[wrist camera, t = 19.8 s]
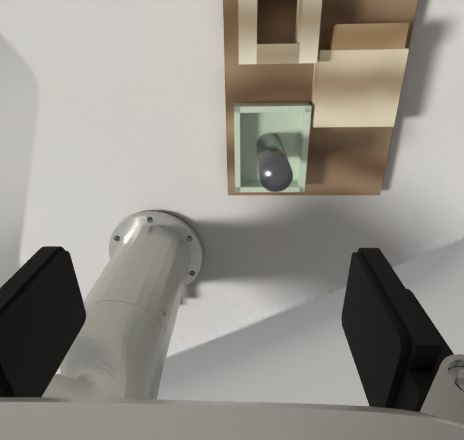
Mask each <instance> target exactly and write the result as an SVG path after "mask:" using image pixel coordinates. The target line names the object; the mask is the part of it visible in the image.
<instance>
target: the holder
mask: <svg viewBox="0 0 464 440" xmlns="http://www.w3.org/2000/svg"><path fill="white" fill-rule="evenodd" d="M321 9H322V0H297V8H296V25H295V43H294V44H257V0H238V32H239V64H296V63H317V55H318V44H319V32H320V21H321Z"/></svg>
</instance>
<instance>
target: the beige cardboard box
mask: <svg viewBox="0 0 464 440" xmlns="http://www.w3.org/2000/svg"><path fill="white" fill-rule="evenodd" d="M408 52H409V49H381V50H318V55H317V63H314V75H313V86H312V98H311V106H312V109H311V121H310V124H311V125H312V126H313V127H394V124H395V119H396V113H397V108H398V103H399V98H400V93H401V88H402V83H403V78H404V73H405V67H406V62H407V57H408Z"/></svg>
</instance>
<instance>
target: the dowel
mask: <svg viewBox="0 0 464 440" xmlns="http://www.w3.org/2000/svg"><path fill="white" fill-rule="evenodd" d="M256 147H257V157H258V167H259V177H260V182H261V184H262V186H263V187H264V188H265V189H267V190H268V191H271V192H280V191H283V190H285V189H286V188H287V187H288V186H289V185H290V184H291V182H292V179H293V172H292V169H291V166H290V164H289V161H288V158H287V155H286V153H285V150H284V147H283V144H282V142H281V139H280V138H279V136H277V135H276V134H274V133H266V134H263V135H262V136H261V137H260V138H259V139H258V141H257V145H256Z"/></svg>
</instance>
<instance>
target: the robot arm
mask: <svg viewBox="0 0 464 440" xmlns="http://www.w3.org/2000/svg"><path fill="white" fill-rule="evenodd" d="M151 217H152V218H151ZM190 236H191V237H190ZM109 255H110V261H109V262H108V264H107V265H106V267H105V269H104V270H103V272H102V273H101V275H100V277H99V278H98V280H97V281H96V283H95V284H94V286H93V288H92V289H91V291H90V292H89V294H88V295H87V297H86V299H85V300H84V302H83V300H82V296H81V292H80V289H79V285H78V282H77V278H76V274H75V271H74V267H73V263H72V260H71V256H70V253H69V252H68V251H65V249H64V248H63V247H51V246H45V247H42V248H41V249H39V250H38V251H37V252H36V253H35V254H34V255H33V256H32V257H31V258H30V259H29V260H28V261H27V262H26V263H25V264H24V265H23V266H22V267H21V268H20V269H19V270H18V271H17V272H16V273H15V274H14V275H13V276H12V277H11V278H10V279H9V280H8V281H7V282H6V283H5V284H4V285H3V286H2V287H1V288H0V440H464V355H462V354H459V355H454V354H453V352H452V351H451V349H450V348H449V346H448V345H447V343H446V342H445V340H444V339H443V337H442V336H441V335H440V333H439V332H438V330H437V329H436V327H435V326H434V324H433V323H432V321H431V320H430V318H429V317H428V315H427V314H426V313H425V311H424V309H423V308H422V306H421V305H420V303H419V302H418V300H417V299H416V297H415V296H414V294H413V293H412V292H411V291H410V290H409V289H405V287H404V286H403V284H402V283H401V281H400V280H399V278H398V276H397V275H396V273H395V272H394V270H393V269H392V267H391V266H390V264H389V263H388V261H387V260H386V258H385V256H384V255H383V253H382V252H381V250H380V249H379V248H360V249H359V250H358V252H354V253H353V254H352V258H351V264H350V270H349V276H348V282H347V287H346V293H345V300H344V305H343V311H342V326H343V329H344V332H345V335H346V338H347V341H348V344H349V347H350V350H351V353H352V356H353V358H354V362H355V365H356V367H357V370H358V373H359V376H360V379H361V382H362V385H363V388H364V391H365V394H366V397H367V400H368V403H369V406H370V407H369V406H348V405H347V406H346V405H325V404H300V403H267V402H266V403H265V402H231V401H192V400H157V395H158V390H159V385H160V380H161V375H162V371H163V367H164V363H165V359H166V355H167V351H168V347H169V343H170V339H171V336H172V332H173V328H174V324H175V320H176V316H177V312H178V308H179V305H180V301H181V297H182V293H183V289H184V287H186V286H187V285H188V284H190V283H191V282H192V281H193V280H194V279H195V278H196V276H197V275H198V273H199V271H200V268H201V264H202V259H203V252H202V246H201V243H200V240H199V239H198V237H197V235H196V233H195V232H194V231H193V230H192V228H191V227H190V226H188V225H187V224H186V223H185V222H184V221H182V220H180V219H179V218H177V217H175V216H172V215H170V214H167V213H163V212H158V211H146V212H139V213H136V214H133V215H131V216H129V217H127V218H126V219H124V220H123V221H122V222H121V223H120V224H119V225H118V226H117V227H116V229H115V230H114V232H113V234H112V235H111V238H110V242H109ZM59 366H60V370H61V375H60V374H55V373H56V372H57V370H58V368H59Z"/></svg>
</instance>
